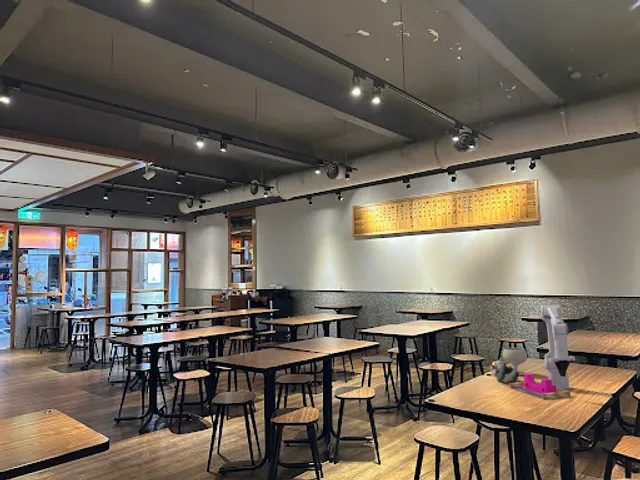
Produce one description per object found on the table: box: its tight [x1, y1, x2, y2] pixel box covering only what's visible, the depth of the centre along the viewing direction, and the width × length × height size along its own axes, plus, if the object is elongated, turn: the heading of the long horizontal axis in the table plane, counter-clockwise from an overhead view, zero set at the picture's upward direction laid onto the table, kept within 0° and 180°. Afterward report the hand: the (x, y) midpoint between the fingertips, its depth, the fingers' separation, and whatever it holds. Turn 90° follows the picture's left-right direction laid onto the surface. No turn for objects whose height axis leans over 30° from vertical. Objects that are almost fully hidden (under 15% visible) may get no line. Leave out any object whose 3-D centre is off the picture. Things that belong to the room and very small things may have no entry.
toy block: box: [523, 373, 556, 394], centre depth 232 cm, size 15×6×8 cm, turn 17°
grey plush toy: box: [490, 359, 520, 385], centre depth 256 cm, size 15×12×14 cm
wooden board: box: [508, 380, 571, 400], centre depth 231 cm, size 16×24×2 cm
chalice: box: [502, 347, 528, 376], centre depth 275 cm, size 14×14×15 cm
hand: (562, 376), depth 220 cm, fingers closed
